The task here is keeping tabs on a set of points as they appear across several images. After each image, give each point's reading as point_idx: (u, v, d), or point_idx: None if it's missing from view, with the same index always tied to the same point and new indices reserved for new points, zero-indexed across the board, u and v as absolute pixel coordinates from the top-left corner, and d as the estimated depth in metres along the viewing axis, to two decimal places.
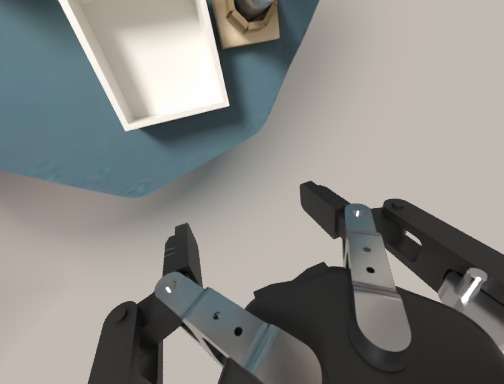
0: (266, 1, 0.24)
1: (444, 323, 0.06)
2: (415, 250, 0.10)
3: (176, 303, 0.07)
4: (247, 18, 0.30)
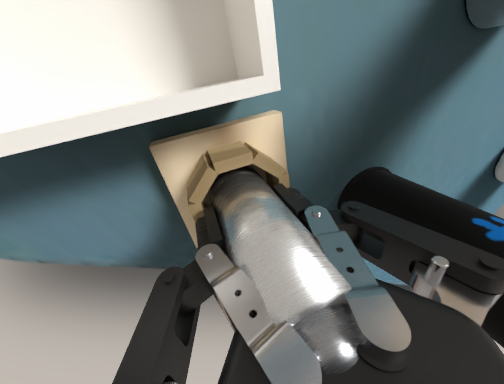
0: None
1: (440, 324, 0.06)
2: (375, 246, 0.10)
3: (217, 267, 0.09)
4: (210, 195, 0.15)
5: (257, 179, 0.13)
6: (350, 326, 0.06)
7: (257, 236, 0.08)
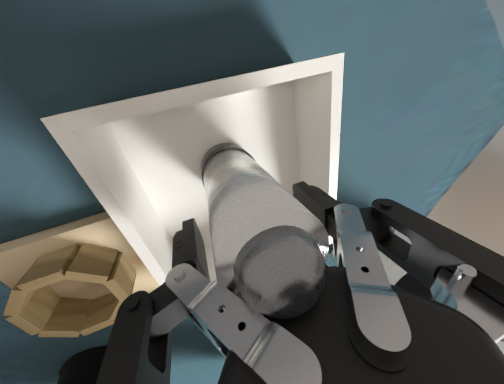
0: (209, 213, 0.10)
1: (443, 323, 0.06)
2: (404, 248, 0.10)
3: (187, 292, 0.08)
4: (202, 167, 0.16)
5: (248, 156, 0.14)
6: (305, 239, 0.06)
7: (238, 180, 0.09)
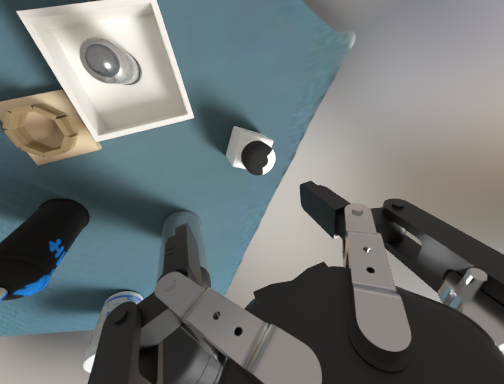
0: None
1: (444, 323, 0.06)
2: (415, 250, 0.10)
3: (176, 303, 0.07)
4: None
5: (127, 53, 0.29)
6: (105, 46, 0.21)
7: None
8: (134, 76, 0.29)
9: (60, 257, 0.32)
